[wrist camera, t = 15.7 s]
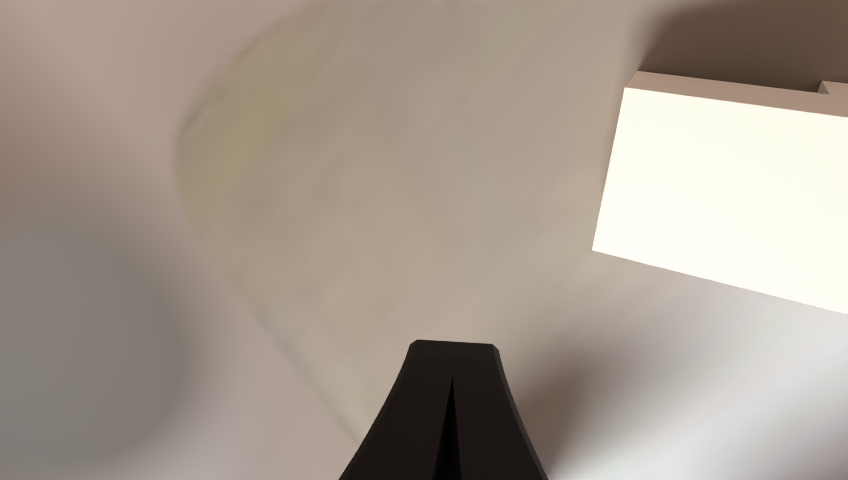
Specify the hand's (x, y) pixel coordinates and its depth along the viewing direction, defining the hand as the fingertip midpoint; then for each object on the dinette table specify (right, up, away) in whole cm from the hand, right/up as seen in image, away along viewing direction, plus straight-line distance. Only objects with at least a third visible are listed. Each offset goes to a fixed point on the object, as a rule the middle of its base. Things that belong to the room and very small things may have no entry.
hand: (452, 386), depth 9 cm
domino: (+5, +5, +7) cm, 10 cm away
